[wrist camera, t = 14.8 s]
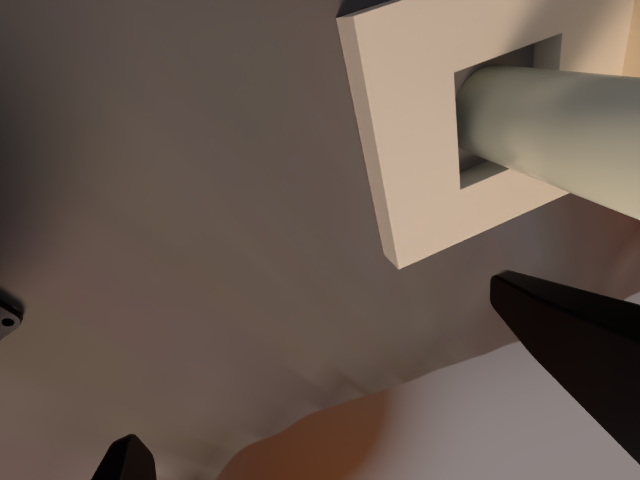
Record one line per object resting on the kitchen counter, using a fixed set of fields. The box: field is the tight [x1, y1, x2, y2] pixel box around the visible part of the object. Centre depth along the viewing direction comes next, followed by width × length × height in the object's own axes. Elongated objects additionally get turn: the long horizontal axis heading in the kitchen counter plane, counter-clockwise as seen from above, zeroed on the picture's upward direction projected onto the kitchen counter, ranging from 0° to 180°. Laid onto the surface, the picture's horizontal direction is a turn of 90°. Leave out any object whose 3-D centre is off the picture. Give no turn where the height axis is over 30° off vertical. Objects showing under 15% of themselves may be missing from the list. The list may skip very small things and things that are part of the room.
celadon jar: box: [455, 65, 640, 220], centre depth 16 cm, size 5×5×14 cm
